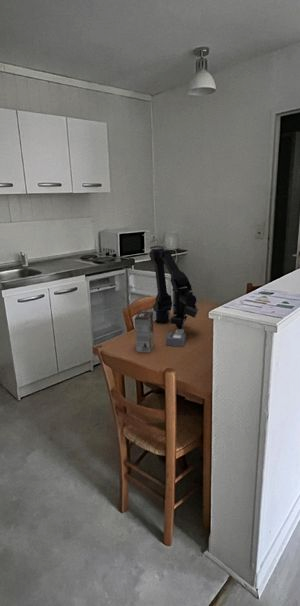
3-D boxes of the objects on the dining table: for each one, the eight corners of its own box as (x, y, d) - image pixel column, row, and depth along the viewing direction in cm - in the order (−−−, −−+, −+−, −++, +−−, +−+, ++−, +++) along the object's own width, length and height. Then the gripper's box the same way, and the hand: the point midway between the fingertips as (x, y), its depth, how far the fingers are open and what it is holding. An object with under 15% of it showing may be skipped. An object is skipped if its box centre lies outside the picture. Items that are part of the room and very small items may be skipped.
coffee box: (140, 343, 167) (139, 311, 162) (154, 344, 166) (153, 311, 161) (136, 351, 158) (134, 317, 153) (150, 352, 157) (149, 318, 152)
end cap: (166, 345, 164) (166, 338, 163) (169, 338, 172) (169, 331, 171) (182, 346, 162) (182, 339, 161) (185, 339, 170) (185, 332, 169)
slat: (172, 344, 165) (172, 338, 165) (176, 334, 177) (176, 328, 176) (179, 344, 165) (179, 339, 164) (183, 335, 176) (183, 329, 175)
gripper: (194, 308, 162) (193, 339, 166) (199, 296, 179) (198, 325, 183) (169, 307, 164) (170, 338, 169) (177, 295, 182) (177, 324, 186)
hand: (180, 331), depth 177 cm, fingers closed
